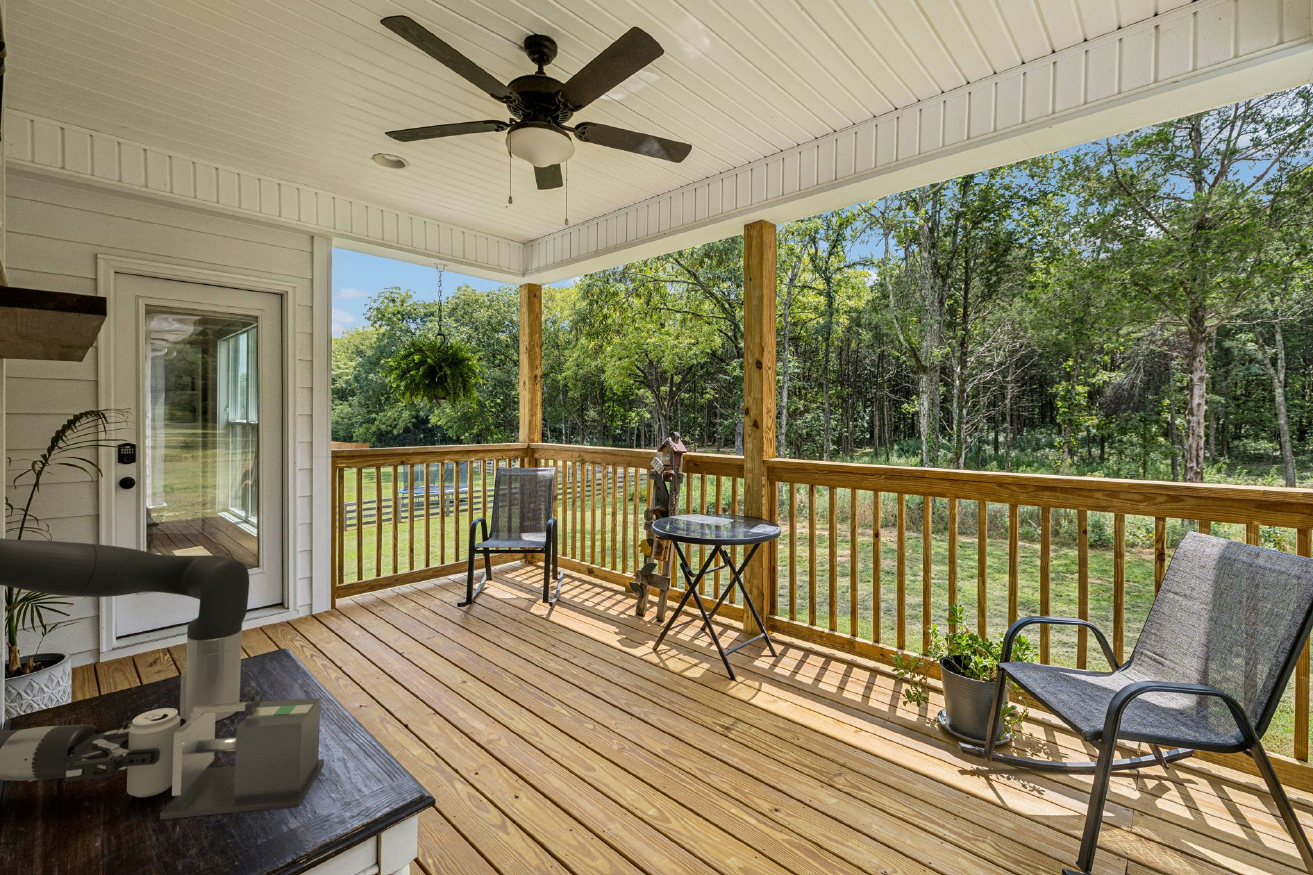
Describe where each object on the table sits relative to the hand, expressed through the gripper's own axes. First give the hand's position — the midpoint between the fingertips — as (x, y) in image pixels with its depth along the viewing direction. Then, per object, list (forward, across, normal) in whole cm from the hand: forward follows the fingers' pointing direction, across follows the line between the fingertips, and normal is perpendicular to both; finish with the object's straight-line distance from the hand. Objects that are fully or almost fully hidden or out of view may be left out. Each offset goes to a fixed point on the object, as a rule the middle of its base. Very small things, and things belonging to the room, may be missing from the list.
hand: (170, 744), depth 95 cm
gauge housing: (+12, 0, +9) cm, 15 cm away
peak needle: (+12, 0, -5) cm, 13 cm away
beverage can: (-2, 0, +7) cm, 8 cm away
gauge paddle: (+7, 0, +6) cm, 9 cm away
